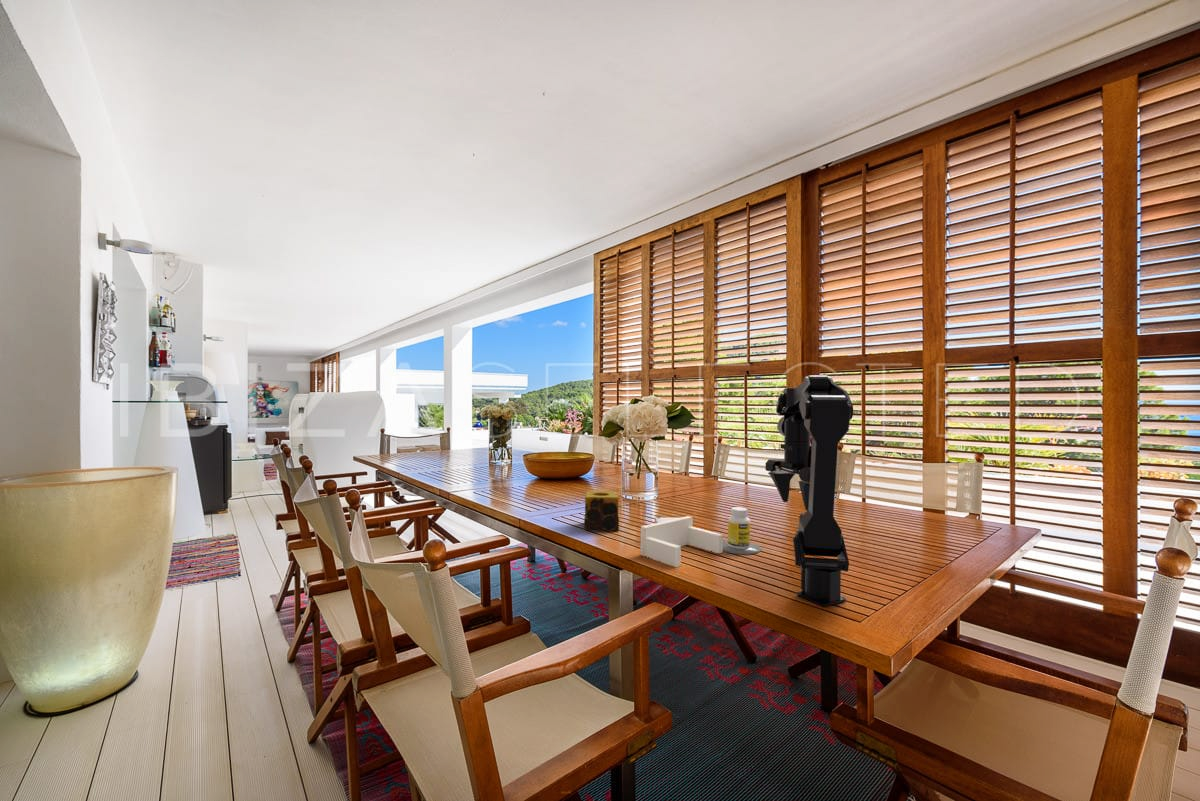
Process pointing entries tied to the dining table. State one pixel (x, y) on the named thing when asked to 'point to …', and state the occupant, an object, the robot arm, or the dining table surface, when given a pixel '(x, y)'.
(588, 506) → the candle
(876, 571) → the dining table surface
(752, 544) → the coaster
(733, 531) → the supplement bottle
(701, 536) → the cream u-shaped arch
